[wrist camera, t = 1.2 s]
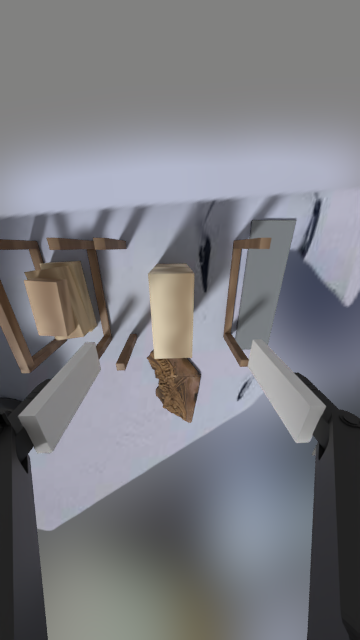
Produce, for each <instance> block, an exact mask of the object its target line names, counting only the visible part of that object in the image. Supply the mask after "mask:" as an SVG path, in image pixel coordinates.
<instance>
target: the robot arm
mask: <svg viewBox="0 0 360 640" xmlns="http://www.w3.org/2000/svg"><path fill="white" fill-rule="evenodd" d="M248 367H249V369H250V371H251V372H252V374H253V375H254V377H255V379H256V380H257V382H258V383H259V385H260V387H261V388H262V390H263V391H264V393H265V394H266V396H267V397H268V399H269V401H270V402H271V404H272V405H273V407H274V409H275V410H276V412H277V413H278V415H279V416H280V418H281V420H282V421H283V423H284V425H285V426H286V428H287V429H288V431H289V433H290V434H291V436H292V437H293V439H294V440H295V442H296V443H304V442H310V440H311V438H312V436H314V437H315V438H316V440H317V441H318V443H317V445H316V447H315V449H314V451H313V453H312V455H313V456H315V454H316V461H315V483H314V505H313V527H312V549H311V569H310V592H309V593H310V594H309V614H308V633H307V640H360V418H358V417H357V416H355V415H354V414H352V413H350V412H347V411H344V410H339V409H338V408H337V407H336V406H335V405H334V404H333V403H332V402H331V401H330V400H329V399H328V398H327V397H326V396H325V395H324V394H323V393H321V391H320V390H318V389H317V388H316V387H315V386H314V385H313V384H312V383H311V382H310V381H309V380H308V379H307V378H306V377H304V376H303V375H301V374H299V373H294V372H292V370H291V369H290V368H289V367H288V366H287V365H286V364H285V363H284V362H283V361H282V360H281V359H280V358H279V357H278V356H277V355H276V354H275V353H274V352H273V351H272V350H271V349H270V348H269V347H268V346H267V344H266V343H265V342H264V341H263V340H262V339H260V340H253V341H252V346H251V352H250V357H249V362H248ZM100 370H101V368H100V363H99V358H98V354H97V349H96V345H95V342H85V343H84V345H83V346H82V347H81V348H80V349H79V350H78V351H77V352H76V353H75V354H74V355H73V357H72V358H71V359H70V360H69V361H68V362H67V363H66V364H65V365H64V366H63V367H62V369H61V370H60V371H59V372H58V373H57V374H56V375H55V376H54V377H53V378H52V379H47V380H45V381H44V382H42V383H41V384H39V385H38V386H37V387H36V388H35V389H34V390H33V391H32V393H30V394H29V395H28V396H27V397H26V399H24V400H23V401H22V402H20V401H17V400H14V399H8V398H0V640H48V636H47V626H46V616H45V607H44V606H45V605H44V595H43V586H42V576H41V566H40V556H39V545H38V535H37V525H36V515H35V504H34V494H33V484H32V474H31V464H30V457H29V455H28V453H29V452H30V450H31V449H32V448H33V446H34V448H35V450H36V452H37V453H52V452H53V450H54V449H55V447H56V445H57V444H58V442H59V440H60V439H61V437H62V435H63V433H64V432H65V430H66V428H67V427H68V425H69V423H70V421H71V420H72V418H73V416H74V415H75V413H76V411H77V410H78V408H79V406H80V404H81V403H82V401H83V399H84V398H85V396H86V394H87V392H88V391H89V389H90V387H91V386H92V384H93V382H94V381H95V379H96V377H97V375H98V374H99V372H100Z"/></svg>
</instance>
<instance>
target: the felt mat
mask: <svg viewBox="0 0 360 640" xmlns="http://www.w3.org/2000/svg"><path fill="white" fill-rule="evenodd" d="M295 223H296V220H253V221H252V224H251V231H250V238H249V239H254V238H272V239H271V244H270V249H248V253H247V260H246V267H245V274H244V281H243V288H242V295H241V302H240V310H239V317H238V324H237V331H236V338H235V340H236V342H237V343H238V345H239V346H240V348H241V349H242V350H245V349H251V346H252V341H253V340H260V339H262V340H263V341H264V342H265V343H266V344H267V346H268V342H269V337H270V333H271V328H272V324H273V319H274V315H275V311H276V307H277V302H278V298H279V293H280V289H281V285H282V280H283V276H284V271H285V267H286V263H287V258H288V254H289V250H290V245H291V241H292V236H293V232H294V228H295Z"/></svg>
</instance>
